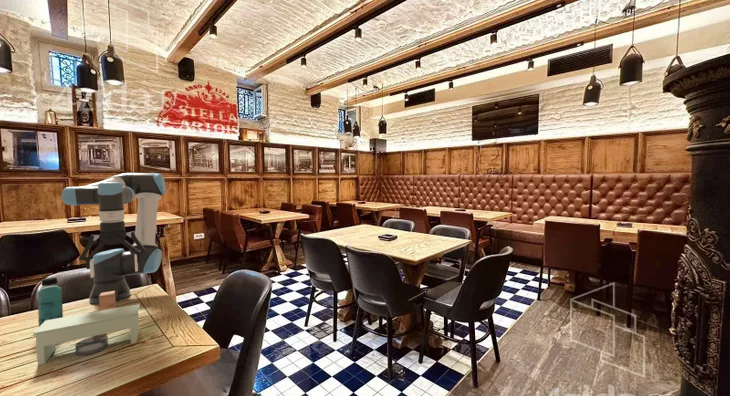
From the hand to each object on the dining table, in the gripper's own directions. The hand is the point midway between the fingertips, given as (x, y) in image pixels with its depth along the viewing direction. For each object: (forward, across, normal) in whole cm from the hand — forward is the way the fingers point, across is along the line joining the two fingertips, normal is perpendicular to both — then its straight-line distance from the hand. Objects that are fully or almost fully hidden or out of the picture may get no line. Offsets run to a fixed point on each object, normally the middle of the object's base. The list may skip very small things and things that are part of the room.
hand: (115, 273), depth 120 cm
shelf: (+19, -5, -20) cm, 28 cm away
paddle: (+19, -4, -2) cm, 20 cm away
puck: (+19, -5, -22) cm, 30 cm away
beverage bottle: (+20, -20, +4) cm, 28 cm away
